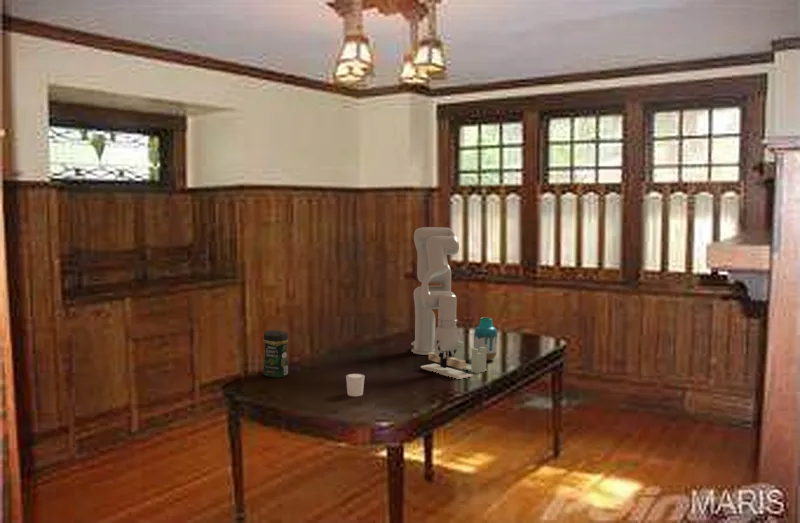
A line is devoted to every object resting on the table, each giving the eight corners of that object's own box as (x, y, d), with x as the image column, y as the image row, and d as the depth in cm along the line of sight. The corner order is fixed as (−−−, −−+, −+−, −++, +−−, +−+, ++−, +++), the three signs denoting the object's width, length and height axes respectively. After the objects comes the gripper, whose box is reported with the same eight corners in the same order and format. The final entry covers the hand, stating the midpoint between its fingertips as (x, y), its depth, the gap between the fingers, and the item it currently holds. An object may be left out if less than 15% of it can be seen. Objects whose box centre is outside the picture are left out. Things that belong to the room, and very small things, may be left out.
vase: (496, 363, 305) (497, 320, 303) (472, 362, 307) (473, 319, 306) (497, 358, 316) (498, 316, 314) (474, 356, 318) (475, 315, 316)
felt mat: (420, 367, 296) (420, 366, 296) (434, 365, 301) (434, 363, 301) (458, 379, 277) (459, 377, 277) (473, 376, 282) (473, 374, 282)
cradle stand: (447, 365, 301) (448, 342, 301) (457, 363, 305) (458, 340, 304) (476, 373, 287) (477, 349, 286) (487, 371, 291) (487, 348, 290)
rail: (428, 359, 295) (428, 352, 295) (433, 358, 297) (433, 351, 297) (460, 368, 280) (460, 361, 279) (465, 367, 281) (465, 360, 281)
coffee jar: (260, 376, 279) (259, 331, 278) (271, 372, 286) (271, 327, 285) (280, 379, 275) (280, 333, 274) (291, 374, 282) (291, 330, 281)
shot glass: (345, 391, 259) (345, 373, 258) (364, 391, 259) (364, 373, 259) (346, 396, 252) (346, 378, 251) (364, 396, 252) (364, 378, 252)
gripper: (455, 320, 295) (454, 362, 297) (426, 324, 285) (425, 367, 287) (467, 322, 289) (466, 365, 291) (438, 326, 279) (437, 371, 281)
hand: (446, 366), depth 289 cm, fingers closed on rail, 2 cm apart
